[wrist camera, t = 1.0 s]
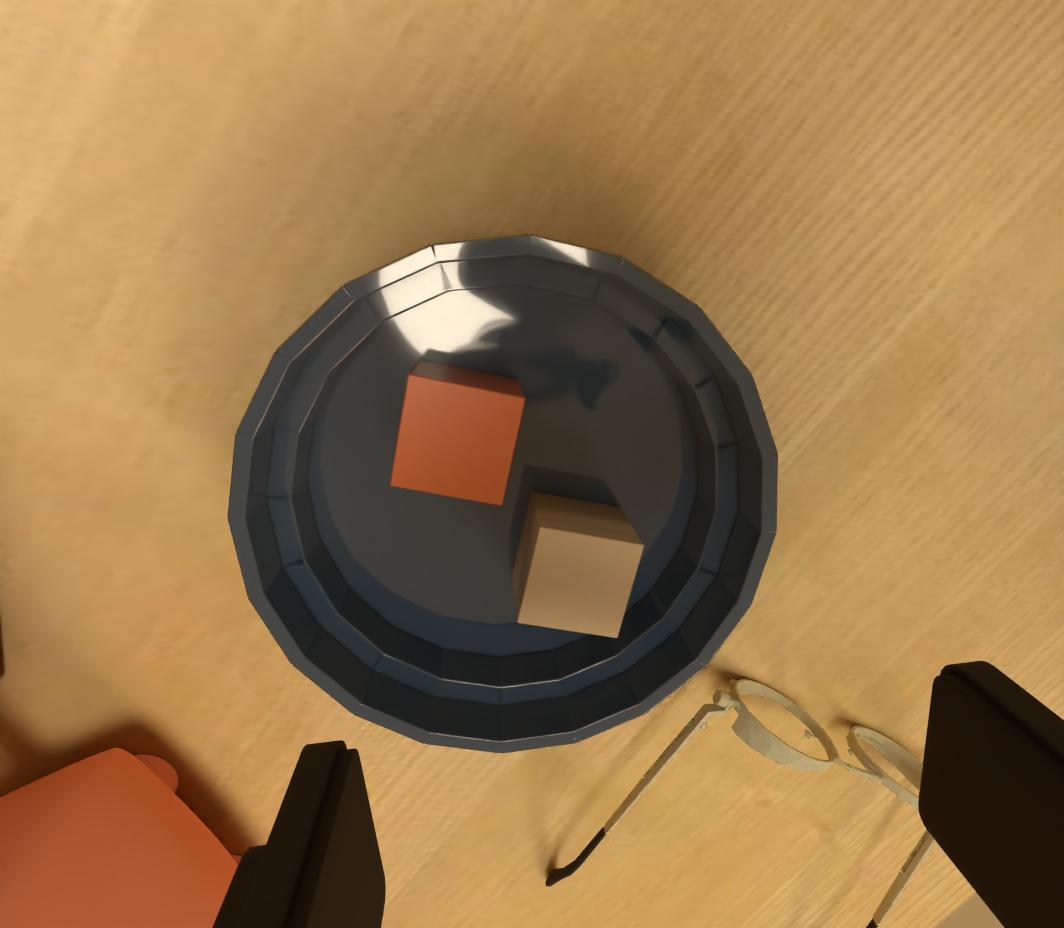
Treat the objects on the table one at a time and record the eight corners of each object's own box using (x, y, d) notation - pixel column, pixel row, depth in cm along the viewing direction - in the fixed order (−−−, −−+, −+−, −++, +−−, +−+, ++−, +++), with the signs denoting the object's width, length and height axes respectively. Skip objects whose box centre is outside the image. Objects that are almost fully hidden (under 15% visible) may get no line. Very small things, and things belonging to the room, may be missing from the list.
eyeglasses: (946, 759, 33) (1025, 839, 28) (793, 957, 37) (840, 1060, 32) (676, 646, 30) (713, 716, 25) (534, 876, 33) (543, 977, 28)
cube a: (419, 358, 25) (407, 373, 21) (518, 379, 25) (525, 397, 21) (402, 455, 26) (389, 486, 22) (498, 473, 26) (501, 506, 22)
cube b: (531, 490, 26) (539, 526, 23) (621, 507, 27) (644, 545, 23) (511, 575, 27) (516, 623, 24) (599, 589, 28) (617, 639, 24)
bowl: (305, 191, 23) (260, 168, 18) (784, 305, 26) (854, 312, 21) (253, 642, 28) (207, 717, 23) (658, 700, 31) (691, 777, 26)
